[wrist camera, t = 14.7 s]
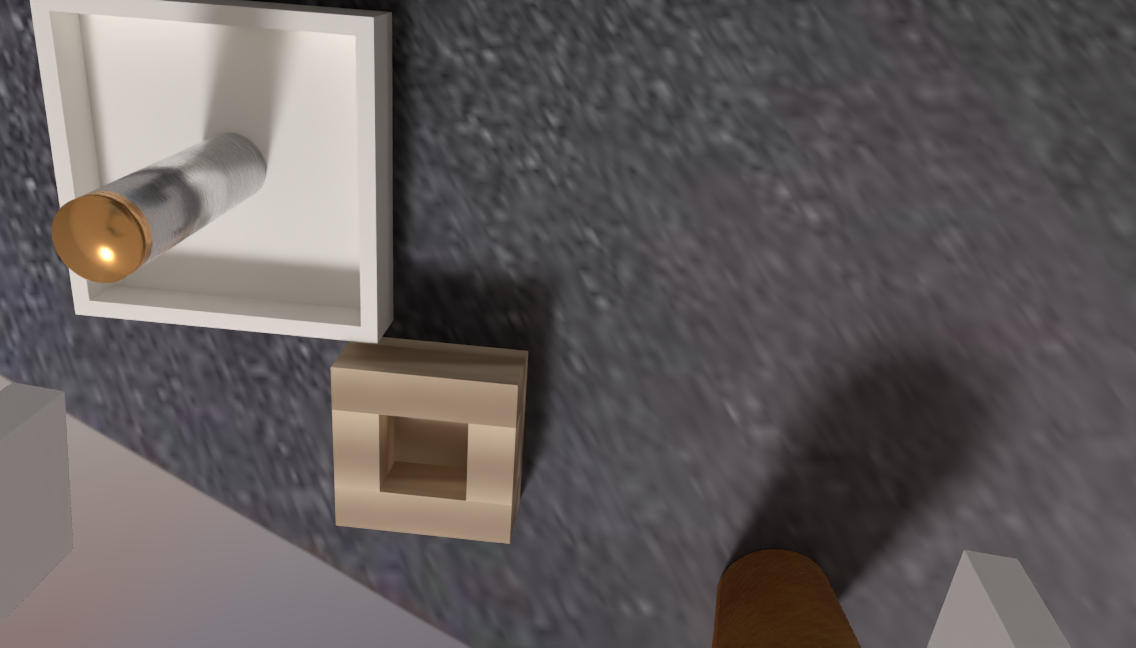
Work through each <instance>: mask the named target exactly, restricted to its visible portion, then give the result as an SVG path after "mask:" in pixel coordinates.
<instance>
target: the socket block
mask: <svg viewBox="0 0 1136 648" xmlns="http://www.w3.org/2000/svg"><path fill="white" fill-rule="evenodd" d="M527 366H528V351H524V350H513V349H503V348H493V347H482V346H472V345H461V344H451V343H441V342H430V341H420V340H409V339H399V338H389V337H382V338H381V339H380V341H379V342H378V344H377V343H367V342H357V341H350V342H349V343H348V345H347V346H346V347H345V349H344V350H343V351H342V353H341V354H340V355H339V357H338V358H337V359H336V361H335V362H334V363H333V365H332V366H331V389H332V420H333V450H334V481H335V511H336V525H338V526H348V527H357V528H367V529H376V530H385V531H395V532H404V533H413V534H423V535H432V536H442V537H451V538H460V539H470V540H479V541H489V542H498V543H507V544H510V540H511V536H512V532H513V528H514V523H515V519H516V515H517V510H518V506H519V502H520V489H521V472H522V454H523V436H524V419H525V401H526V383H527Z"/></svg>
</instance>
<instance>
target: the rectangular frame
mask: <svg viewBox="0 0 1136 648" xmlns="http://www.w3.org/2000/svg"><path fill="white" fill-rule="evenodd" d="M30 5H31V12H32V19H33V25H34V32H35V39H36V46H37V53H38V60H39V67H40V73H41V80H42V87H43V94H44V101H45V108H46V115H47V122H48V128H49V135H50V142H51V149H52V156H53V163H54V170H55V177H56V183H57V190H58V197H59V204H60V208H61V207H62V206H63V205H64V204H66V203H67V202H69V201H71V200H73V199H76V198H78V197H80V196H82V195H84V194H87V193H89V192H91V191H93V190H96V189H98V188H100V187H102V186H104V185H107V184H109V183H111V182H113V181H116V180H118V179H120V178H122V177H124V176H127V175H129V174H131V173H133V172H136V171H138V170H140V169H142V168H144V167H147V166H149V165H151V164H153V163H156V162H158V161H160V160H162V159H164V158H167V157H169V156H171V155H173V154H176V153H178V152H180V151H182V150H184V149H187V148H189V147H191V146H193V145H196V144H198V143H200V142H202V141H204V140H207V139H209V138H211V137H213V136H216V135H218V134H221V133H236V134H239V135H242V136H244V137H246V138H248V139H249V140H250V141H252V142H253V143H254V144H255V145H256V146H257V147H258V149H259V150H260V152H261V153H262V155H263V158H264V160H265V164H266V178H265V182H264V184H263V186H262V187H261V189H260V190H259V191H258V192H257V193H256V194H254V195H253V196H251V197H250V198H248V199H247V200H245V201H243V202H242V203H240V204H239V205H237V206H236V207H234V208H233V209H231V210H229V211H228V212H226V213H225V214H223V215H222V216H220V217H219V218H217V219H215V220H214V221H212V222H211V223H209V224H208V225H206V226H205V227H203V228H201V229H200V230H198V231H197V232H195V233H194V234H192V235H191V236H189V237H187V238H186V239H184V240H183V241H181V242H180V243H178V244H177V245H175V246H173V247H172V248H170V249H169V250H167V251H166V252H164V253H163V254H161V255H159V256H158V257H156V258H155V259H153V260H152V261H150V262H149V263H147V264H145V265H144V266H142V267H141V268H139V269H138V270H136V271H135V272H133V273H132V274H130V275H128V276H127V277H125V278H124V279H122V280H120V281H117V282H113V283H97V282H93V281H89V280H87V279H84V278H83V277H81V276H79V275H77V274H76V273H74V272H73V271H72V270H71V269H70V268H69V273H70V280H71V286H72V293H73V300H74V307H75V314H77V315H88V316H98V317H108V318H119V319H129V320H139V321H150V322H160V323H170V324H181V325H191V326H201V327H212V328H222V329H233V330H243V331H253V332H264V333H274V334H284V335H295V336H305V337H315V338H326V339H336V340H346V341H357V342H367V343H377V344H378V342H379V341H380V339H381V338H382V336H383V335H384V333H385V332H386V330H387V329H388V327H389V326H390V324H391V323H392V321H393V130H392V12H385V11H373V10H360V9H347V8H335V7H322V6H309V5H297V4H284V3H271V2H258V1H246V0H30Z"/></svg>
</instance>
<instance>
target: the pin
mask: <svg viewBox="0 0 1136 648" xmlns="http://www.w3.org/2000/svg"><path fill="white" fill-rule="evenodd" d="M265 178H266V164H265V160H264V158H263V155H262V153H261V152H260V150H259V149H258V147H257V146H256V145H255V144H254V143H253V142H252V141H250V140H249V139H248V138H246V137H244V136H242V135H239V134H236V133H221V134H218V135H216V136H213V137H211V138H209V139H207V140H204V141H202V142H200V143H198V144H196V145H193V146H191V147H189V148H187V149H184V150H182V151H180V152H178V153H176V154H173V155H171V156H169V157H167V158H164V159H162V160H160V161H158V162H156V163H153V164H151V165H149V166H147V167H144V168H142V169H140V170H138V171H136V172H133V173H131V174H129V175H127V176H124V177H122V178H120V179H118V180H116V181H113V182H111V183H109V184H107V185H104V186H102V187H100V188H98V189H96V190H93V191H91V192H89V193H87V194H84V195H82V196H80V197H78V198H76V199H73V200H71V201H69V202H67V203H66V204H64V205H63V206H62V207H61V208H60V209H59V210H58V212H57V213H56V215H55V217H54V220H53V224H52V238H53V243H54V246H55V249H56V251H57V253H58V255H59V256H60V258H61V259H62V261H63V262H64V263H65V264H66V265H67V266H68V267H69V268H70V269H71V270H72V271H73V272H74V273H76V274H77V275H79V276H81V277H83V278H84V279H87V280H89V281H93V282H97V283H113V282H117V281H120V280H122V279H124V278H125V277H127V276H128V275H130V274H132V273H133V272H135V271H136V270H138V269H139V268H141V267H142V266H144V265H145V264H147V263H149V262H150V261H152V260H153V259H155V258H156V257H158V256H159V255H161V254H163V253H164V252H166V251H167V250H169V249H170V248H172V247H173V246H175V245H177V244H178V243H180V242H181V241H183V240H184V239H186V238H187V237H189V236H191V235H192V234H194V233H195V232H197V231H198V230H200V229H201V228H203V227H205V226H206V225H208V224H209V223H211V222H212V221H214V220H215V219H217V218H219V217H220V216H222V215H223V214H225V213H226V212H228V211H229V210H231V209H233V208H234V207H236V206H237V205H239V204H240V203H242V202H243V201H245V200H247V199H248V198H250V197H251V196H253V195H254V194H256V193H257V192H258V191H259V190H260V189H261V187H262V186H263V184H264V182H265Z"/></svg>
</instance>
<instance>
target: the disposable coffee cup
mask: <svg viewBox="0 0 1136 648" xmlns="http://www.w3.org/2000/svg"><path fill="white" fill-rule="evenodd" d="M712 648H861V646H860V644H859V642H858V640H857V638H856V636H855V634H854V633H853V630H852V628H851V626H850V625H849V621H848V620H847V618H846V615H845V613H844V612H843V610H842V607H841V605H840V604H839V602H838V599H837V597H836V596H835V593H834V591H833V589H832V588H831V585H830V583H829V580H828V578H827V576H826V575H825V573H824V572H823V570H822V569H821V568H820V567H819V566H818V565H817V564H816V563H815V562H814V561H812V560H811V559H809V558H808V557H806V556H804V555H802V554H799V553H797V552H793V551H789V550H783V549H767V550H761V551H757V552H753V553H750V554H748V555H746V556H744V557H742V558H740V559H738V560H737V561H735V562H734V563H733V564H732V565H731V566H730V567H729V568H728V569H727V570H726V571H725V572H724V574H723V575H722V577H721V579H720V582H719V585H718V587H717V599H716V610H715V621H714V632H713V641H712Z"/></svg>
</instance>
